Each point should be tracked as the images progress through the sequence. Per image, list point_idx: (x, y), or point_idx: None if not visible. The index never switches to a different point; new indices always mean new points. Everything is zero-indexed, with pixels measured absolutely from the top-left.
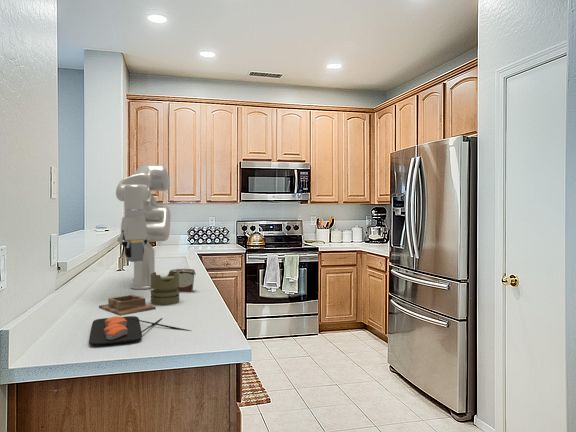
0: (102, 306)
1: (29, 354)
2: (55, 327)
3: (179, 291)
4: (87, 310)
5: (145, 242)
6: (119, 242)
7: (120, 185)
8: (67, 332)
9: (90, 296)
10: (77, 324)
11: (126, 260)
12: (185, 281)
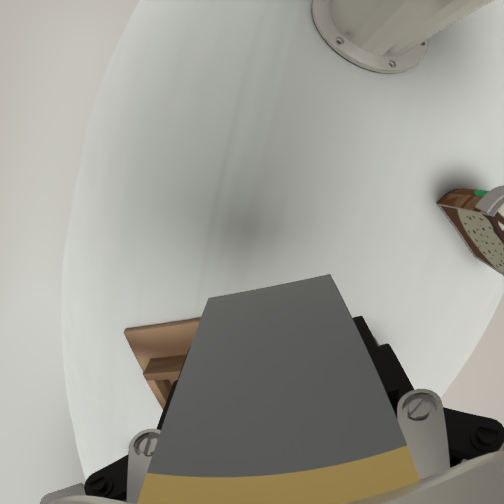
0: (134, 350)
1: (86, 474)
2: (74, 419)
3: (454, 224)
4: (100, 341)
5: (454, 457)
6: (73, 490)
7: None
8: (100, 449)
9: (115, 102)
10: (103, 428)
11: (208, 302)
12: (489, 252)
